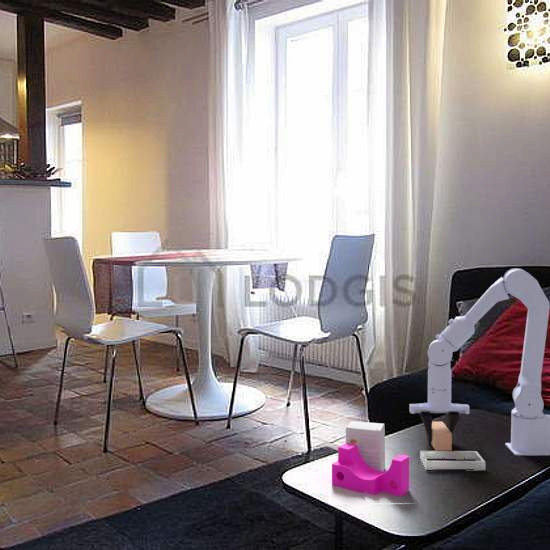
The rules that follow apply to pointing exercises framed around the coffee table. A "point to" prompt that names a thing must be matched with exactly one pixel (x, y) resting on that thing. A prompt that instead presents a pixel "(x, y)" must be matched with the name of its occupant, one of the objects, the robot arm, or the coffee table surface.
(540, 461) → the coffee table surface
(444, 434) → the peach rectangular prism
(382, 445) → the small box
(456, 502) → the coffee table surface
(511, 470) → the coffee table surface
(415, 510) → the coffee table surface
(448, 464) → the gray rectangular tray
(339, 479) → the toy block
